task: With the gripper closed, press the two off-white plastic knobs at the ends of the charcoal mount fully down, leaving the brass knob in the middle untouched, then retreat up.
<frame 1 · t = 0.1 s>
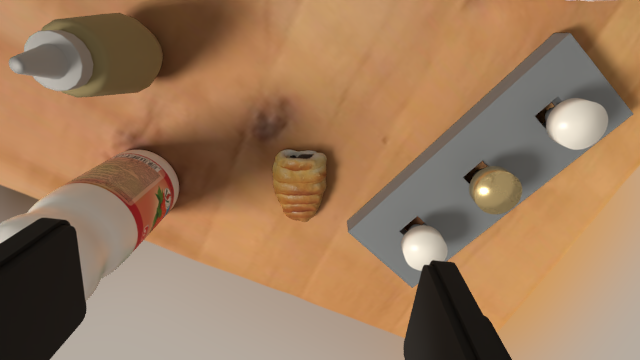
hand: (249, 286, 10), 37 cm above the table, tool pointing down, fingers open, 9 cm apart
white knob a: (420, 241, 45), point 5 cm above the table, slide at 0.0 cm
pastry: (302, 177, 49), on the table
white yogurt drink bottle: (145, 181, 49), on the table
brass knob: (489, 184, 42), point 5 cm above the table, slide at 0.0 cm
squeeze bottle: (138, 52, 44), on the table
knob mount: (472, 168, 47), on the table
white knob b: (567, 120, 40), point 5 cm above the table, slide at 0.0 cm
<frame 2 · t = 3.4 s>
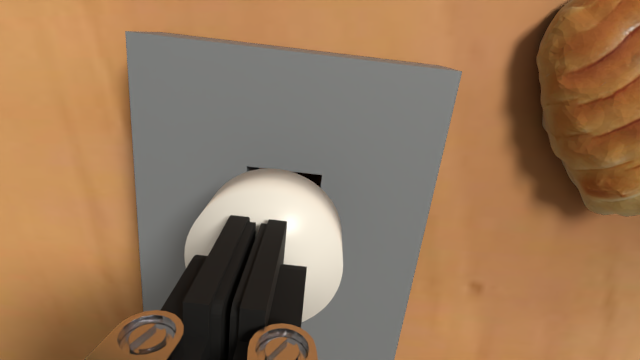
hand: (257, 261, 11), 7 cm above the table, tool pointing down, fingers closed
white knob a: (275, 226, 14), point 5 cm above the table, slide at 0.6 cm, touching gripper
pastry: (604, 109, 17), on the table
knob mount: (274, 340, 22), on the table
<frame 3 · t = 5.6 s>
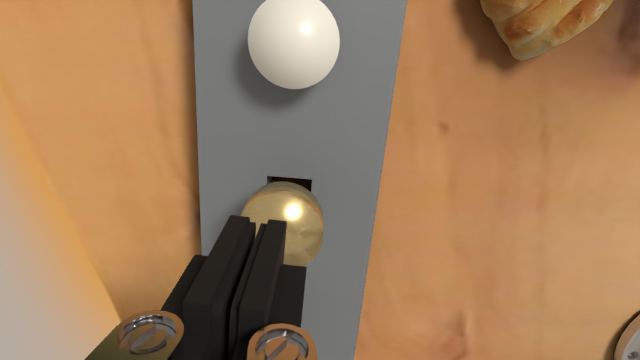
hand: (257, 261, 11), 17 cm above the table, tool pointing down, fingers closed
white knob a: (297, 41, 22), point 3 cm above the table, slide at 2.6 cm
brass knob: (284, 214, 23), point 5 cm above the table, slide at 0.0 cm
knob mount: (292, 182, 29), on the table
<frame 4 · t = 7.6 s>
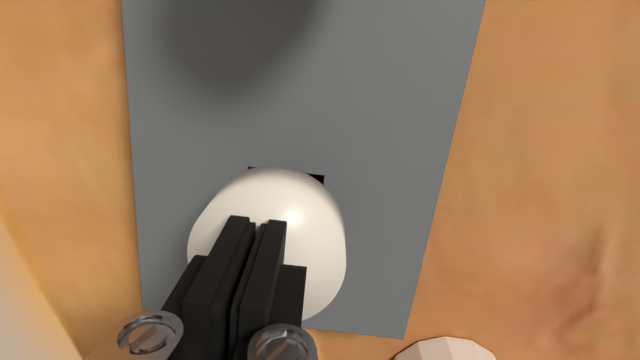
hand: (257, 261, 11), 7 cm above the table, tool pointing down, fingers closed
white knob b: (277, 223, 14), point 5 cm above the table, slide at 0.9 cm, touching gripper
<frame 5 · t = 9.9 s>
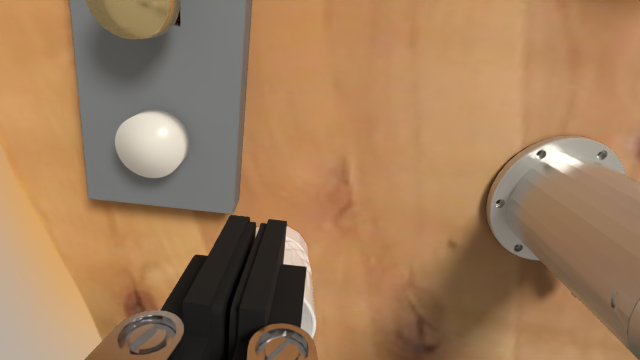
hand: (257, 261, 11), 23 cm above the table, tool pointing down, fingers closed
knob mount: (172, 2, 29), on the table
white cup: (274, 251, 38), on the table
white knob b: (161, 138, 30), point 3 cm above the table, slide at 2.6 cm
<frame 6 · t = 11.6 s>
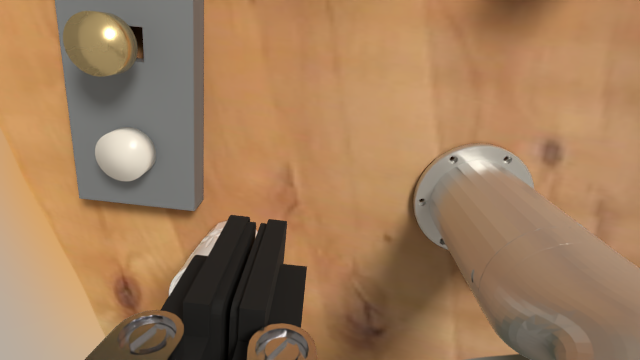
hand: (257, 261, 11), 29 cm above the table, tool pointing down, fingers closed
brass knob: (111, 43, 32), point 5 cm above the table, slide at 0.0 cm
knob mount: (141, 42, 37), on the table
white cup: (236, 243, 45), on the table
white knob b: (133, 149, 38), point 3 cm above the table, slide at 2.6 cm
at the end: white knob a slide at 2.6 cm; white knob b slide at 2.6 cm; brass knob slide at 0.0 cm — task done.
